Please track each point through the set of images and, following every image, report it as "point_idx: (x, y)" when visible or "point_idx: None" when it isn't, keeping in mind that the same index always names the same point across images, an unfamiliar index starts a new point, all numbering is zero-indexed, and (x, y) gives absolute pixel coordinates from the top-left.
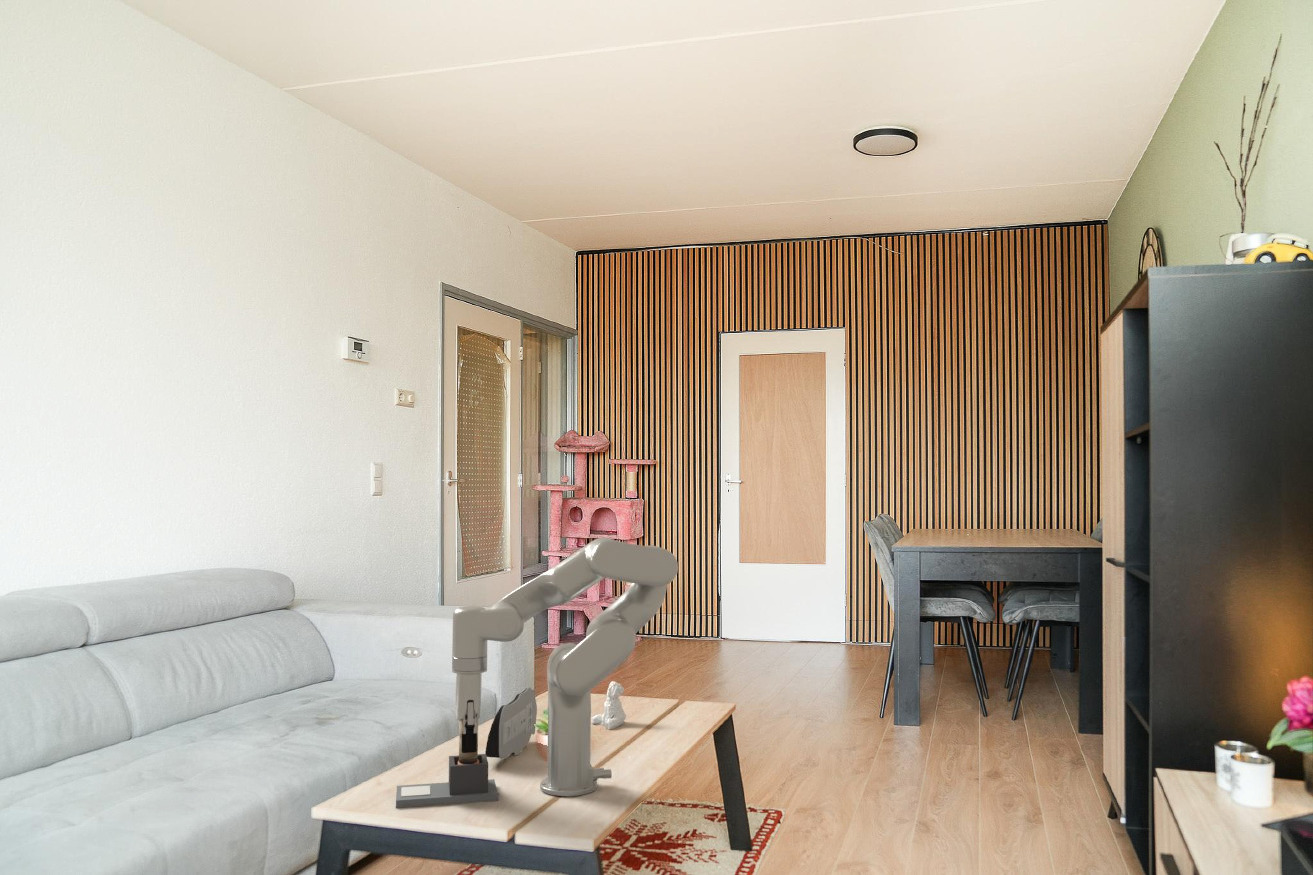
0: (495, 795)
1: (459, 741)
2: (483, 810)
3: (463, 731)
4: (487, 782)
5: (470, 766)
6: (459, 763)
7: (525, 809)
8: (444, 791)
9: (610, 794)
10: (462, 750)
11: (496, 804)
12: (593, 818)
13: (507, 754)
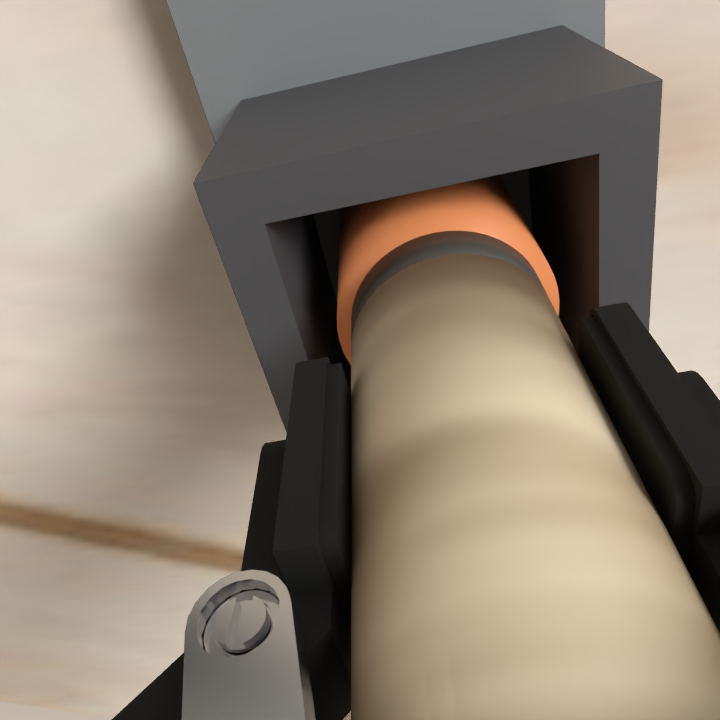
0: None
1: (438, 381)
2: (126, 330)
3: (185, 642)
4: None
5: (267, 365)
6: (374, 248)
7: (181, 503)
8: (339, 29)
9: None
10: (294, 382)
11: (241, 381)
12: (122, 683)
13: None
